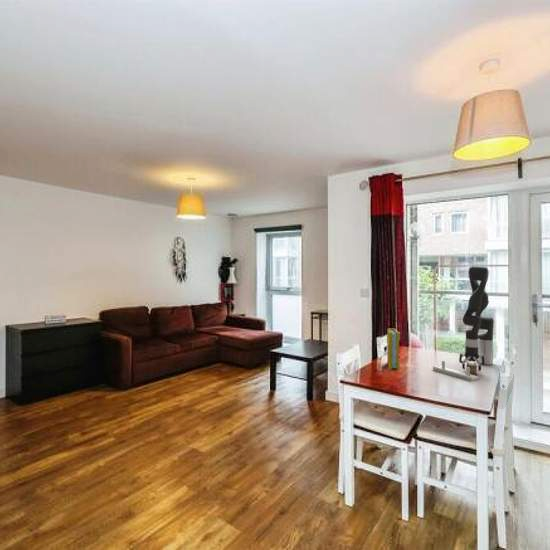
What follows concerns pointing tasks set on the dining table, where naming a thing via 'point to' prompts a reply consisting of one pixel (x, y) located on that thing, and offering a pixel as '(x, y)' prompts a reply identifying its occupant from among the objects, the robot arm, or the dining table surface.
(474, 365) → the frame
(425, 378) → the dining table surface
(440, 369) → the board
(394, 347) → the book
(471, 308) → the robot arm
